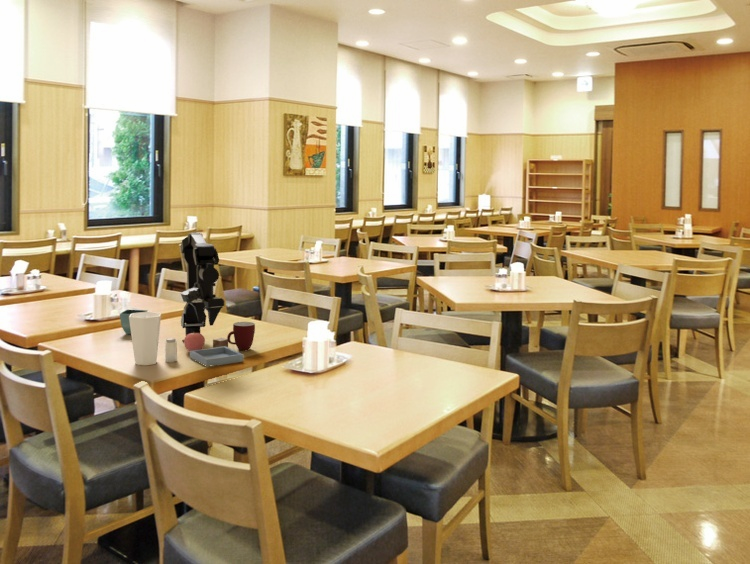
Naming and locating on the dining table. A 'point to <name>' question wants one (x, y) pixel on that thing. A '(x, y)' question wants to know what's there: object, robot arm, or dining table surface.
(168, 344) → the white shaker
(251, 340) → the mug
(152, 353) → the cup
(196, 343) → the apple
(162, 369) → the dining table surface
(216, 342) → the walnut block
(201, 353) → the dish
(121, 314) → the flower pot
